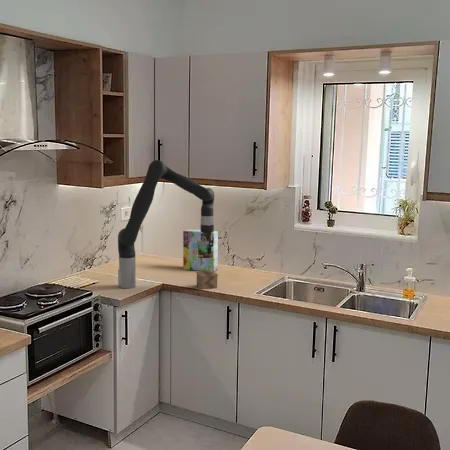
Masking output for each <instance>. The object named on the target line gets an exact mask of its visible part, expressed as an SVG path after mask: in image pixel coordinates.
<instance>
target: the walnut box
mask: <svg viewBox="0 0 450 450" xmlns="http://www.w3.org/2000/svg"><path fill="white" fill-rule="evenodd" d="M195 273H196V286H197V287H198V288H200V289H201V290H209V289H210V290H211V289H217V288H218V276H219V274H218V273H216V271H214V272H213V271H196V272H195Z"/></svg>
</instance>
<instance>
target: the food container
mask: <svg viewBox="0 0 450 450" xmlns="http://www.w3.org/2000/svg"><path fill="white" fill-rule="evenodd" d="M214 243H215V240H214ZM214 243H213V247H211V254H207V248H208V247H207V245H209V241H205V240H203V241H197V246H198V258H211V257H213V249H214ZM210 244H211V243H210Z"/></svg>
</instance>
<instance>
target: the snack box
mask: <svg viewBox="0 0 450 450" xmlns="http://www.w3.org/2000/svg"><path fill="white" fill-rule="evenodd" d="M201 233H203V232H201V229H189V228H188V229H185V230H183V233H182V235H183V236H182V237H183V238H182V239H183V241H182V243H183V244H182V247H183V248H182V249H183V256H182V257H183V263H182V265H183V270H185V271H186V270H188V271H197V272H203V271H213V272H216V271H218V270H219V267H218V266H219V265H218V264H219V263H218V262H219V261H218V260H219V257H218V256H219V252H218V251H219V247H218V246H219V231H218V230H217V231H216V230H214V232H212V233H211V236H212V237H214V240H215V243H214V249H213V257H211V258H198V246H197V241H201Z"/></svg>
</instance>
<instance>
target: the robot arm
mask: <svg viewBox="0 0 450 450" xmlns="http://www.w3.org/2000/svg"><path fill="white" fill-rule="evenodd" d="M160 179H162V180H165V181H168V182H170V183H172V184H173V185H175V186H177V187H179V188H180V189H182V190H184V191H186V192H187V193H189V194H192V195H193V196H195V197H196V198H198V199H199V200H201V208H200V230H201V232H203V233H201V241H203V240H205V241H209V245H207V247H208V248H207V254H211V247H213V243H214V237H212V236H211V233H212V232H214V231H215V230H214V229H215V221H214V220H215V219H214V203H215V192H214V190H213V189H212V188H210V187H204V186H202V185H200V184H199V182H197V181H195V180H193V179H191V178H189V177H187V176H185V175H182V174H180V173H178V172H177V171H174V170H172V168H170V167H168V166H167V165H166V164H165V163H164V162H163V161H161V160H159V159H156V160H153V161H151V163H150V164H149V165H148V169H147V172H146V174H145V178H144V180H143V182H142V185H141V186H140V188H139V190H138V192H137V195H136V197H135V199H134V201H133V203H132V205H131V206H132V207H131V211H130V214H129V218H128V221H127V223H126V225H125V228H122V229H120V230H119V232H118V235H117V248H118V249H117V252H118V269H117V271H118V272H117V274H118V275H117V277H118V278H117V281H118V283H117V286H118V287H119V288H120V289H131V288H133V289H134V288H135V287H136V283H137V281H136V280H137V279H136V278H137V277H136V276H137V274H136V267H137V266H136V249H135V243H136V241H137V237H138V234H139V231H140V228H141V226H142V224H143V221H145V220H144V219H145V218H146V217H147V213H148V212H149V209H150V207H151V205H152V203H153V200H154V196H155V192H156V191H155V190H156V187H157V185H158V183H159V181H160ZM210 243H211V244H210Z"/></svg>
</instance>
